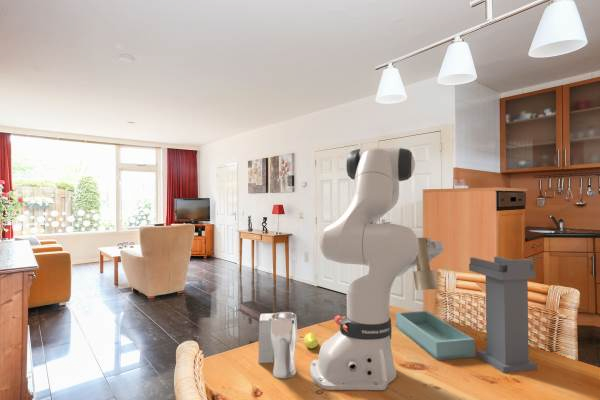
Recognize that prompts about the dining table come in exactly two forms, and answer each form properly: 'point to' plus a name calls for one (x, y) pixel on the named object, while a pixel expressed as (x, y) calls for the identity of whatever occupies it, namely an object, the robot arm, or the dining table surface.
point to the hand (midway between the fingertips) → (423, 240)
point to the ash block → (424, 269)
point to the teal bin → (435, 335)
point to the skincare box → (265, 339)
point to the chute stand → (506, 312)
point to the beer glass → (284, 343)
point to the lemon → (310, 340)
